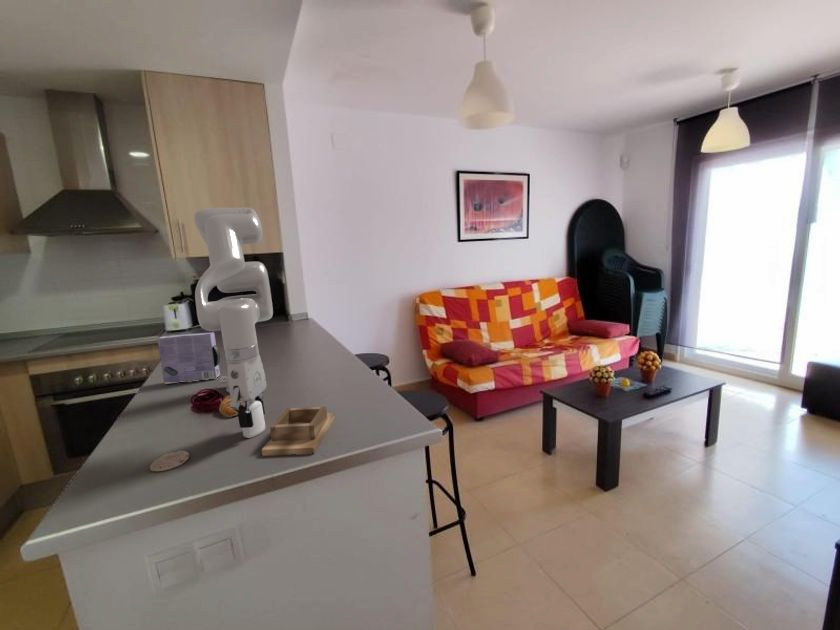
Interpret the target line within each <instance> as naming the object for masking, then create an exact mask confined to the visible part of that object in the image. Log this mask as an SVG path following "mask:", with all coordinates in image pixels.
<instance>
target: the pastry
mask: <svg viewBox="0 0 840 630" xmlns="http://www.w3.org/2000/svg"><path fill="white" fill-rule="evenodd" d="M240 400H244V399H243V398H240ZM231 401H232V399H231V396H228V397H225V398H224V399H223V400H222V401H221V402H220V405H219V408H218V411H219V412H220V415H222V416H224V417H225V418H232V417H235V416H238V414H237V413H236V411H235V410H234V409H233V408H231V406H230V405H231ZM244 404H245V402H243V403H241V405H244Z"/></svg>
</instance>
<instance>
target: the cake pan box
mask: <svg viewBox="0 0 840 630" xmlns="http://www.w3.org/2000/svg"><path fill="white" fill-rule="evenodd" d="M157 345H158V352H159V358H160V364H161V371H162V377H163V384H164V383H165V382H180V381H193V380H205V381H207V380H206V379H215V378H217V377H218V376H219V375H220V376H221V372H220V361H221V351H220V350H219V347H218V346H217V343H216V335H215V331H211V332H203V333H187V334H176V335H174V334H173V335H164V336H163V335H162V336H160V337H158V338H157ZM218 378H219V377H218ZM218 378H217V379H218Z"/></svg>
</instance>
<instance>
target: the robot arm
mask: <svg viewBox="0 0 840 630" xmlns="http://www.w3.org/2000/svg"><path fill="white" fill-rule="evenodd" d="M193 219H194V220H193V221H194V224H195V227H196V230H197V231H198V233H199V234H200V236H201V238H202V240H203V241H204V243H205V244H206V247H207V251H208V259H209V267H208V268H207V269H206V270H205V271H204V273H203V274H202V275H201V276H200V278H199V279H198V282H197V284H196V286H195V291H194V293H195V294H194V299H195V307H196V316H197V321H198V324H199V326H200V328H201V329H202V330H204V331H206V332H218V331H220V333H221V338H222V345H223V349H224V357H225V362H226V363H227V367H226V368H227V369H226V370H227V375H225V376H224V375H220V377H219V384H227V386H226V388H225V389H226V392H227V393H229V395H230V396H231V399H232V401H231V405H230V406H231V408H233V409H234V410H235V411H236V413H237V414H238V415H237V417H238V423H239V428H241V429H242V428H249V427H253V419H252V413H251V411H249V407H250V401H252V400H253V399H255V401H260V402H261V403H262V408H263V415H264V416H265V415H266V411H265V405H264V394H263V393H264V391H265V390H266V389H267V379H266V373H265V370H264V365H263V362H262V361H263V360H262V358H261V355H260V352H259V343H258V338H257V331H256V324H257V323H260V322H266V321H269V320H270V319H272V318H273V314H274V309H273V301H272V292H271V286H270V280H269V273H268V269H267V268H266V266H265V264H264V263H262V262H260V261H245V256H244V252H243V247H242V245H249V244H250V245H251V244H259V243H260V242H261V241H262V240H263V227H262V223H261V220H260V218H259V215H258V213H257V212H256V211H255V209H253V208H252V207H248V206H247V207H245V206H243V207H206V208H202V209H199V210H196V211H195V212H194V215H193ZM215 287H216V288H217V289H218V291H220V292H221V293H227V294H229V293H240V292H248V291H249V292H250V291H252V292H256V293H252V294H245V295H244V294H241V295H234V296H233V295H232V296H226V297H223V298H221V299H218V300H215V301H209V298H208V297H209V293H210V292H211V291H212V290H213V288H215ZM240 398H241V399H243V400H240ZM243 402H244V404H245V407H244V406H243V405H241V403H243Z"/></svg>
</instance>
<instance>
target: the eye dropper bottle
mask: <svg viewBox="0 0 840 630" xmlns="http://www.w3.org/2000/svg"><path fill="white" fill-rule="evenodd" d="M243 406H244V407H245V403H244V405H243ZM249 411H251V413H252V419H253V427H249V428H241V429H242V436H243V437H244V438H247V439H252V438H254V437H257V436H258V435H260V434H262V433H263V432H264V431H265V430H266V423H265V414H264V415H263V408H262V403H261V402H260V401H255V399H253V400H252V401H250V407H249Z"/></svg>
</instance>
